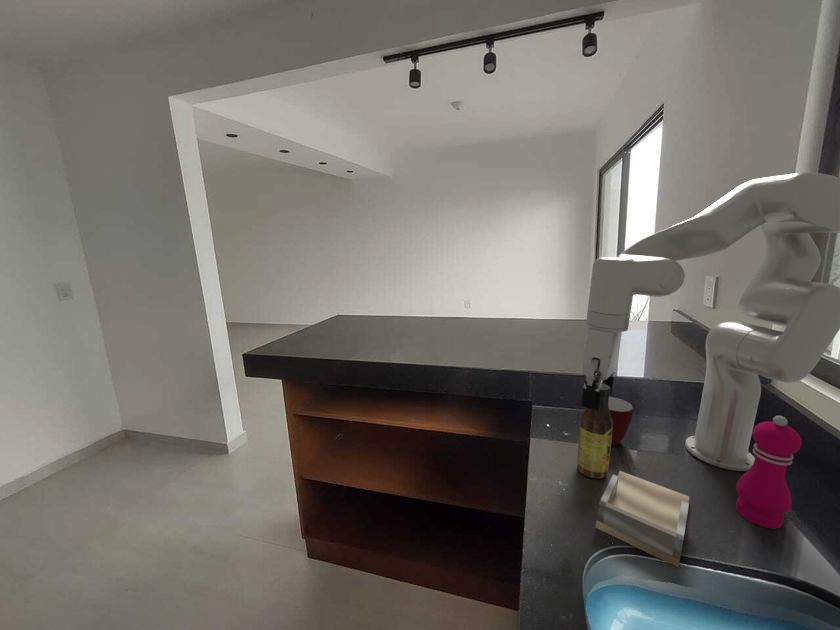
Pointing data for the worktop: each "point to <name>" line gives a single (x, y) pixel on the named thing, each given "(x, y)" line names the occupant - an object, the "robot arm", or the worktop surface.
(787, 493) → the pepper mill
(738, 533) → the worktop surface
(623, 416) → the mug
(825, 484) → the worktop surface
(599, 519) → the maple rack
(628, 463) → the worktop surface
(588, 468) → the sauce bottle
